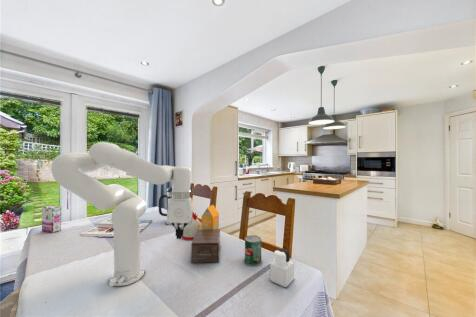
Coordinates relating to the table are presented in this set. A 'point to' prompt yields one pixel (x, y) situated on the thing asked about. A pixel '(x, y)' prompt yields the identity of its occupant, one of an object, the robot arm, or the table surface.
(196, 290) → the table surface
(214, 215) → the orange juice
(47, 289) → the table surface
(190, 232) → the kitchen timer
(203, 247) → the drawer
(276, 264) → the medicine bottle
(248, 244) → the canned tomato
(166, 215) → the coffee press
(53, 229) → the candy bar box
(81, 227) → the table surface
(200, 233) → the cabinet
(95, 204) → the robot arm
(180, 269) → the table surface
